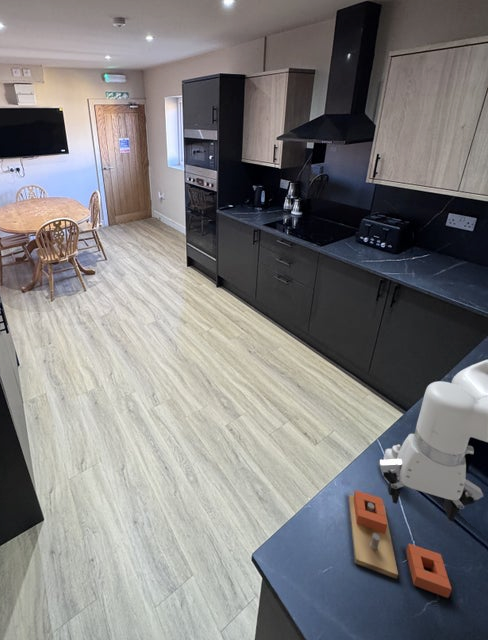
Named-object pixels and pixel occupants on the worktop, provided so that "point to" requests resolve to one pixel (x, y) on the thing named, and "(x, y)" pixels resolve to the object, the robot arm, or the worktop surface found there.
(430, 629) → the worktop surface
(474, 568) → the worktop surface
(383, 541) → the base board
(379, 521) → the pad
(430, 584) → the orange square ring block
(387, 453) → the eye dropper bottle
